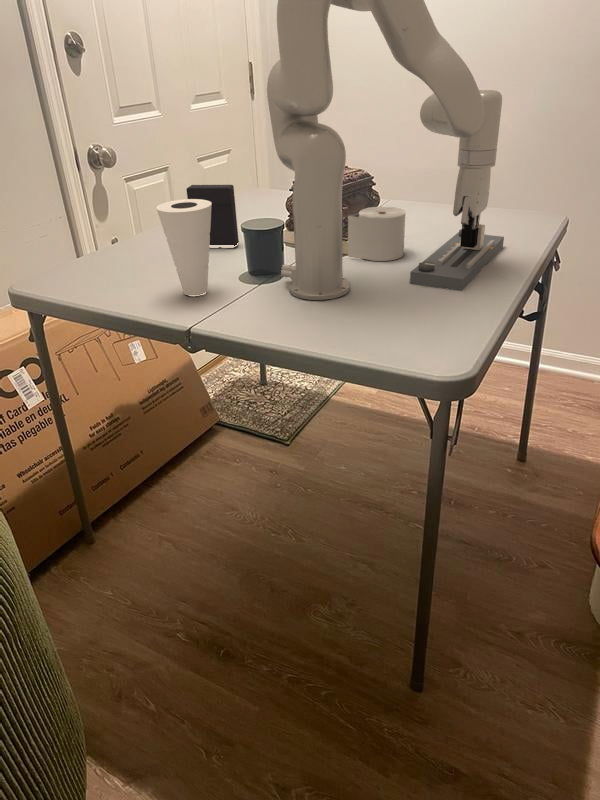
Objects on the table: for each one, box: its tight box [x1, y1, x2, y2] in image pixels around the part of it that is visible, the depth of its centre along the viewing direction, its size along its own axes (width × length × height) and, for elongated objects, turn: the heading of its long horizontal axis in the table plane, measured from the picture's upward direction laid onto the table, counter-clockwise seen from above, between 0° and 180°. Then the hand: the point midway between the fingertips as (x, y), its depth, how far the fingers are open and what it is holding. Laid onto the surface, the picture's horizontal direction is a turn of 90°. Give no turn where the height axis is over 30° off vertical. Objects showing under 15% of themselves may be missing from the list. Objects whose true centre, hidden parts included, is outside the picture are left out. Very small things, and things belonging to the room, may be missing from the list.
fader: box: [462, 223, 486, 250], centre depth 138 cm, size 4×2×5 cm, turn 60°
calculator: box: [186, 184, 240, 246], centre depth 155 cm, size 11×4×15 cm, turn 80°
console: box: [409, 228, 505, 292], centre depth 138 cm, size 11×32×4 cm, turn 150°
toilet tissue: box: [347, 206, 406, 262], centre depth 144 cm, size 11×12×10 cm
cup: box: [156, 198, 212, 295], centre depth 125 cm, size 11×11×18 cm
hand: (468, 246), depth 136 cm, fingers closed
